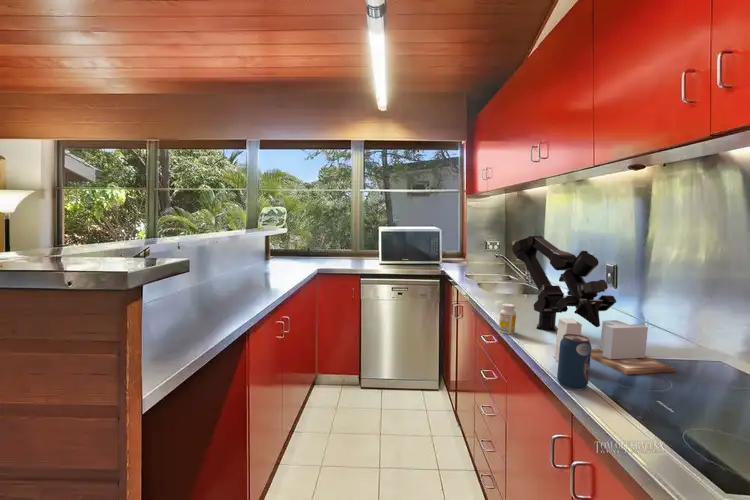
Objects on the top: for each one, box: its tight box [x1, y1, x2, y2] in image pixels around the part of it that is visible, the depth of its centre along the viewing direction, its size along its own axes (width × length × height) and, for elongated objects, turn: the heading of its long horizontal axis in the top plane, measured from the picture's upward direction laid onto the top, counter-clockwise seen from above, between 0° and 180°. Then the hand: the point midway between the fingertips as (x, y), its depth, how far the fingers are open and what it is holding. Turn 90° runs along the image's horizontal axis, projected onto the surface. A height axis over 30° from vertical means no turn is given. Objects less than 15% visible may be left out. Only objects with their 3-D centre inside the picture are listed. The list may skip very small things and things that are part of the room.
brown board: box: [590, 348, 675, 375], centre depth 129 cm, size 18×16×1 cm
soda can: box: [556, 334, 592, 390], centre depth 109 cm, size 7×7×12 cm
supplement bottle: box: [498, 303, 517, 335], centre depth 156 cm, size 5×5×10 cm
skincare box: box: [554, 317, 583, 362], centre depth 126 cm, size 6×4×12 cm
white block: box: [599, 319, 649, 359], centre depth 132 cm, size 8×12×9 cm, turn 105°
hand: (598, 326), depth 140 cm, fingers closed
